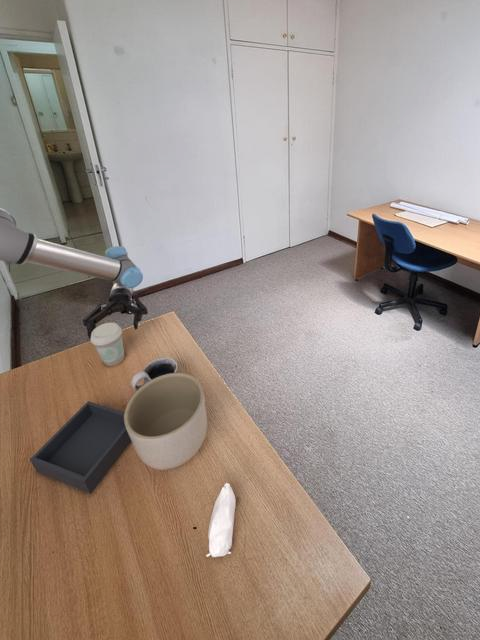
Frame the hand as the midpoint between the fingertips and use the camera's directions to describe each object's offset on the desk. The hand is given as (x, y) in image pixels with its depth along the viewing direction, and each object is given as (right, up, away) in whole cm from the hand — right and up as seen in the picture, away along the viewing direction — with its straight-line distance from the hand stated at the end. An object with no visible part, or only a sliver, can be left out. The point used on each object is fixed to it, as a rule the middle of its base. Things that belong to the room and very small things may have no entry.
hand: (112, 331), depth 108 cm
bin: (+11, -21, -28) cm, 37 cm away
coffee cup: (+2, -9, -2) cm, 9 cm away
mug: (+21, -14, -13) cm, 29 cm away
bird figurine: (+47, -28, -43) cm, 70 cm away
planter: (+31, -21, -27) cm, 46 cm away
